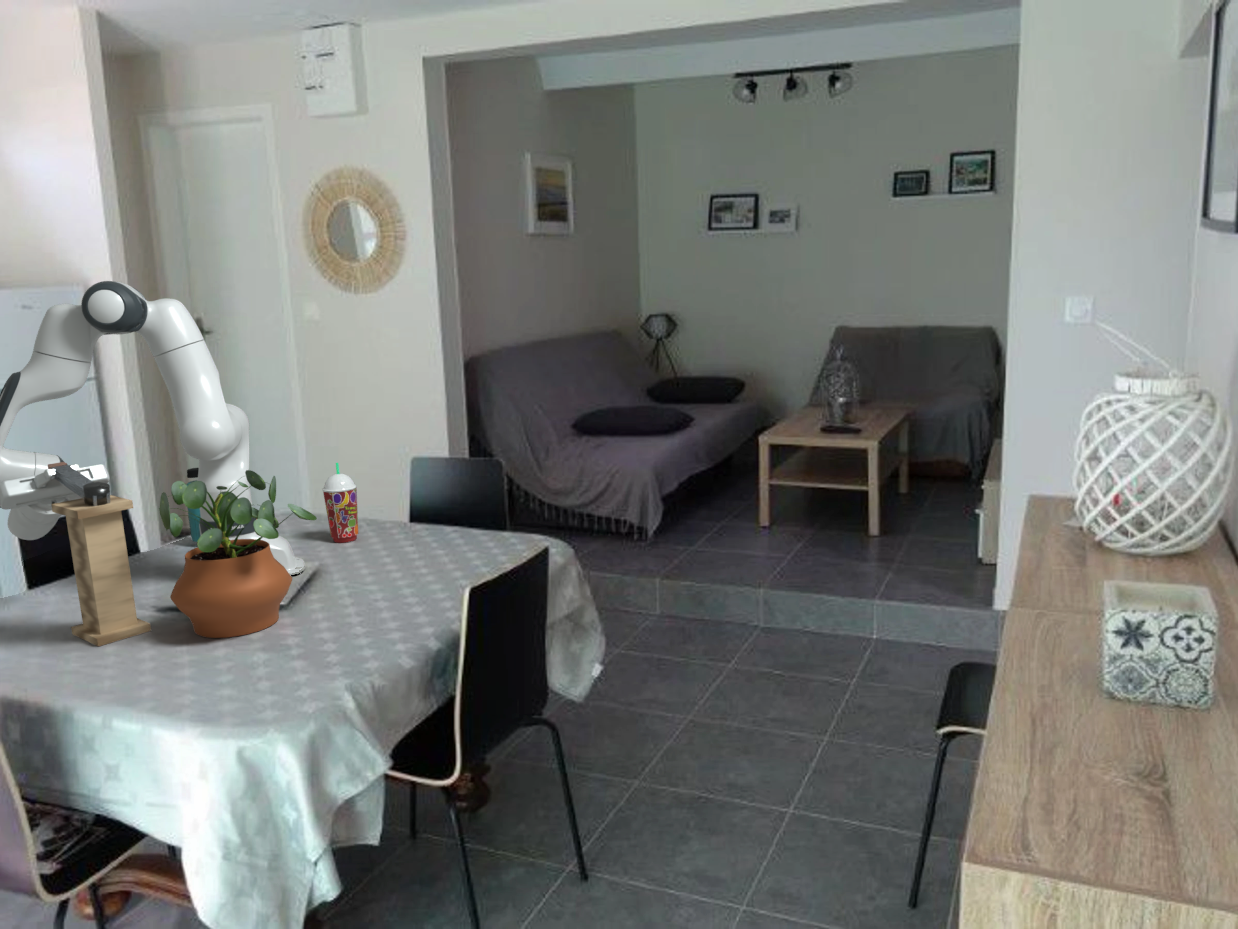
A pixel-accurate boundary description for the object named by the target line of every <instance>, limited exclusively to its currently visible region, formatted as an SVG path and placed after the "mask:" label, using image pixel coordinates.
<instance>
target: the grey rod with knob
mask: <svg viewBox="0 0 1238 929" xmlns="http://www.w3.org/2000/svg"><path fill="white" fill-rule="evenodd" d="M50 468H54V469H55V472H56V474H57V476H56V478H55V479H56V480H57V481H59V482H60V483H61V484H63V485H64V486H66V487H67V488H69V489H70V490H71V491H73V492H74V493H76V494H77V495H79V496H80V497H81V498H83V499H84V503H85V504H87V505H92V506H99V505H104V504H108V503H110V495H111V490H110V488H111V487H110V484H109V483H108V484H107V483H103V482H93V481H91V480H90V479H88V478H87V477H85V476H84V475H82V474H81V473H79V472H78V471H76V470H75V469H73V468H72V467H70V466H69V464H68V463H67V462H65V461H64V462H60V463H54V464H48V469H50Z"/></svg>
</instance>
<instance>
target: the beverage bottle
mask: <svg viewBox="0 0 1238 929" xmlns="http://www.w3.org/2000/svg"><path fill="white" fill-rule="evenodd" d="M198 471H199V467H193V468H188V469H186V477H187V478H189V479H196V478H197V479H196V480H191V481H188V482H187V483H185V484H186V485H187V484H190V483H192V482H195V481H197V480H198ZM187 486H188V485H187ZM186 508H187V512H186V513H187V519H188V520H187V521H188V525H189V529H188V530H189V531H190V532H189V533H190V539H191V541H192V542H196V543H197V542H198V539H199V538H200V536H201V535H200V528H199V524H200V523H199V522H198V521H200V518H201V515H200V508H199V509H190V508H188V507H186ZM188 512H190V513H188ZM191 513H192V514H191ZM193 514H194V515H193ZM195 515H196V516H195ZM189 516H190V517H189ZM197 516H199V517H200V518H198V517H197ZM191 517H192V518H191ZM193 518H194V519H193ZM195 519H196V520H195ZM197 520H198V521H197Z"/></svg>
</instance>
